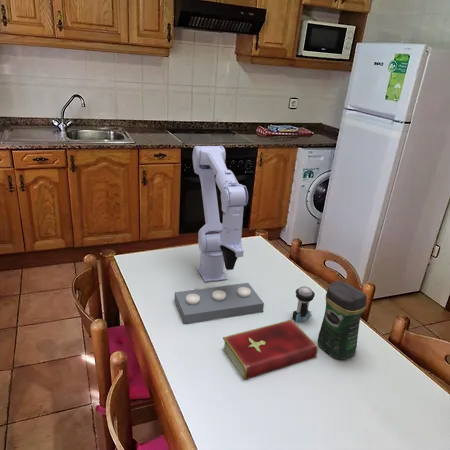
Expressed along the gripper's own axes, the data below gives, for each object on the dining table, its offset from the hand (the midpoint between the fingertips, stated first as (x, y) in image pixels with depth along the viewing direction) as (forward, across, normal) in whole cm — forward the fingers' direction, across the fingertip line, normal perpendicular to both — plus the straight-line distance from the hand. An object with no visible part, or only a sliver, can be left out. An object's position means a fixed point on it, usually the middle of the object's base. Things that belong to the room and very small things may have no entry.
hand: (229, 268), depth 122 cm
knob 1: (+9, +3, -12) cm, 16 cm away
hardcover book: (+12, +26, +2) cm, 29 cm away
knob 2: (+9, +3, +4) cm, 11 cm away
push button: (+11, +15, +18) cm, 26 cm away
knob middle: (+9, +3, -4) cm, 11 cm away
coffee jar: (+11, +29, +20) cm, 37 cm away
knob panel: (+10, +3, -4) cm, 12 cm away
